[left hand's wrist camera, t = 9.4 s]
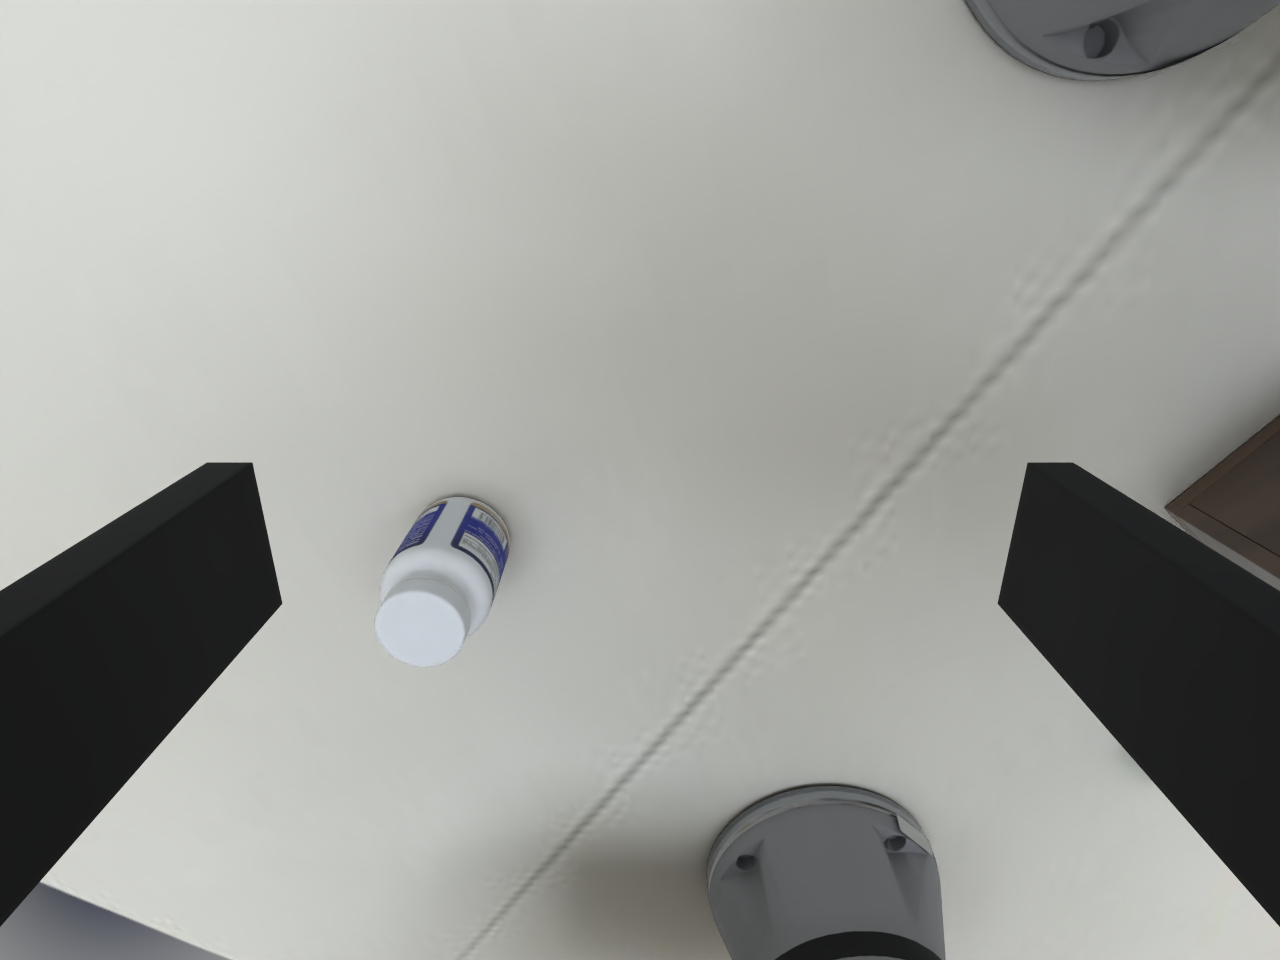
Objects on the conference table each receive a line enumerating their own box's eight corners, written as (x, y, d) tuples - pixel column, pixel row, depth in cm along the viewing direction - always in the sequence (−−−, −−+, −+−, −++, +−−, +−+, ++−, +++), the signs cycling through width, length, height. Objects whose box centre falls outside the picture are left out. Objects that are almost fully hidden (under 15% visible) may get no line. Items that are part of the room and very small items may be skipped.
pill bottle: (420, 578, 41) (364, 678, 32) (410, 493, 39) (349, 577, 30) (514, 580, 41) (482, 681, 32) (510, 495, 39) (474, 579, 30)
